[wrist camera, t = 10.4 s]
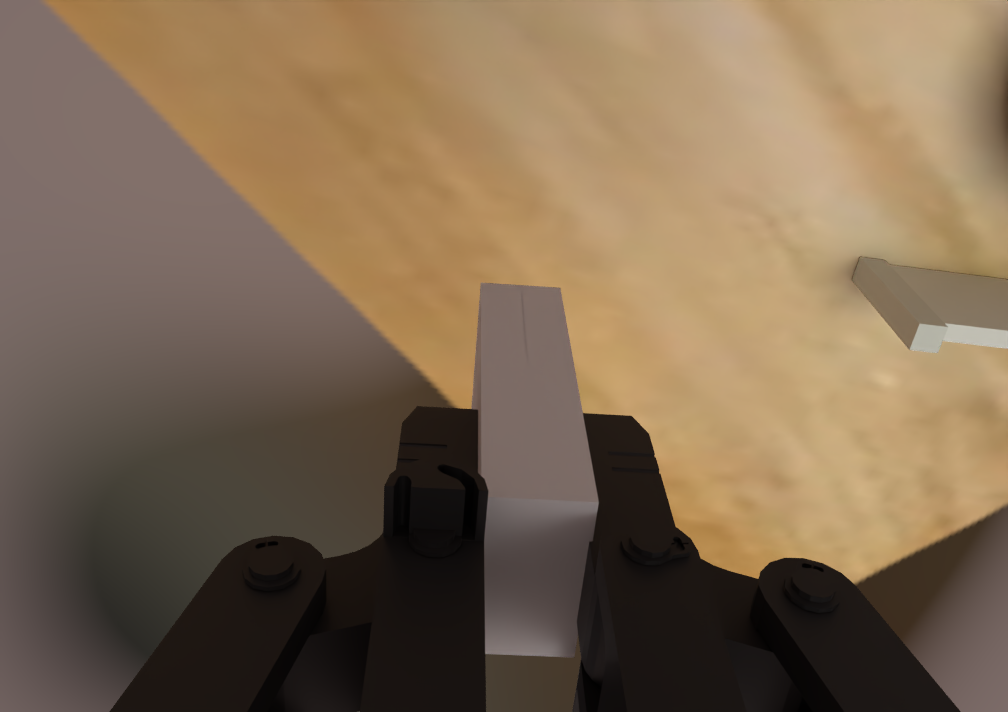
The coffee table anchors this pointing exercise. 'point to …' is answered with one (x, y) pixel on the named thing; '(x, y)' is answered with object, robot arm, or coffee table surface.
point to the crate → (936, 304)
